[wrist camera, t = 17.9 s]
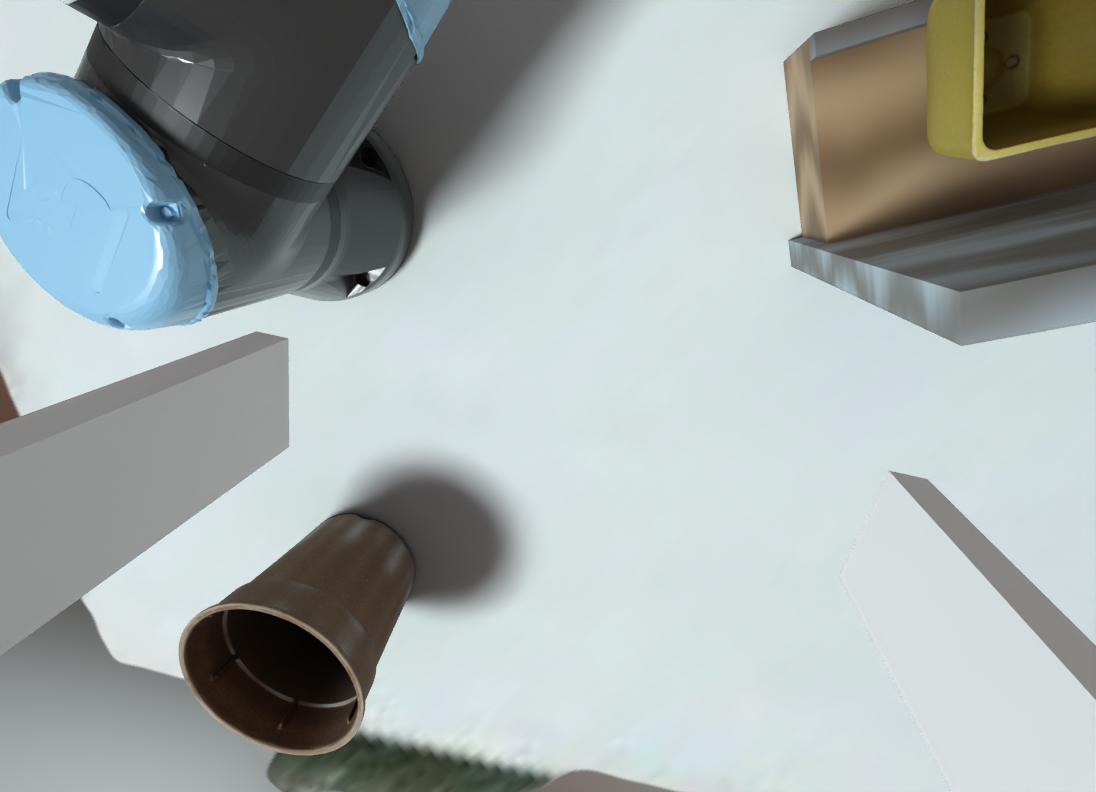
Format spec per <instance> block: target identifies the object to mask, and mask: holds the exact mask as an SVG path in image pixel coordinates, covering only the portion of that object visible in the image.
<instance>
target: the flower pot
mask: <svg viewBox="0 0 1096 792" xmlns="http://www.w3.org/2000/svg"><path fill="white" fill-rule="evenodd" d="M926 55H927V138H928V142H929V144H930V146H931V148H932V149H933V150H934V151H935V152H936V153H938V154H940V155H944V156H948V157H954V158H961V159H968V160H975V161H989V160H994V159H998V158H1003V157H1006V156H1010V155H1015V154H1019V153H1023V152H1028V151H1032V150H1036V149H1041V148H1045V147H1049V146H1054V145H1058V144H1063V143H1067V142H1072V141H1076V140H1081V139H1086V138H1090V137H1094V136H1096V0H933V2H932V4H931V7H930V10H929V13H928V18H927V26H926ZM1010 57H1015V58H1016V59H1017V63H1016V65H1015V66H1014V67H1012V68H1008V67H1007V66H1006V62H1007V60H1008V58H1010ZM983 100H984V101H983Z"/></svg>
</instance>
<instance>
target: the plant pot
mask: <svg viewBox="0 0 1096 792" xmlns="http://www.w3.org/2000/svg"><path fill="white" fill-rule="evenodd" d="M414 573H415V565H414V561H413V558H412V555H411V553H410V551H409V549H408V548H407V546H406V545H405V543H404V542H403V541H402V540H401V538H400V537H399V536H398V535H397V534H396V533H395V532H393V531H392V530H391V529H390V528H388V527H387V526H386V525H384V524H382V523H381V522H379V521H377V520H375V519H374V520H367V519H363V518H361V517H359V516H358V515H356V514H344V515H338V516H335V517H332V518H329V519H328V520H326V521H324V522H323V523H321V524H320V525H319V526H318V527H316V528H315V529H314V530H313V531H312V532H311V533H309V534H308V535H307V536H306V537H305V538H304V539H302V540H301V541H300V542H299V543H298V544H296V545H295V546H294V547H293V548H292V549H290V550H289V551H288V552H287V553H286V554H284V555H283V556H282V557H281V558H280V559H278V560H277V561H276V562H275V563H273V564H272V565H271V566H270V567H268V568H267V569H266V570H265V571H264V572H262V573H261V574H260V575H259V576H257V577H256V578H255V579H254V580H252V581H251V582H250V583H247V584H245V585H243V586H241V587H239V588H238V589H236V590H235V591H234V592H232V593H231V594H230V595H229V596H227V597H226V598H225V599H224V600H222V601H221V602H220V603H219V604H216V605H213V606H211V607H209V608H207V609H205V610H203V611H202V612H200V613H199V614H198V615H196V616H195V617H194V618H193V619H192V620H191V621H190V622H189V623H188V624H187V626H186V627H185V629H184V631H183V633H182V635H181V638H180V642H179V662H180V666H181V670H182V673H183V676H184V678H185V681H186V683H187V685H188V686H189V688H190V690H191V691H192V693H193V695H194V696H195V698H196V699H197V700H198V701H199V703H200V704H201V705H202V706H203V707H204V708H205V709H206V710H207V712H208V713H210V715H212V716H213V717H214V718H215V719H216V720H217V721H219V722H220V723H221V724H222V725H224V726H225V727H226V728H228V729H229V730H231V731H232V732H234V733H236V734H238V735H239V736H241V737H242V738H244V739H246V740H248V741H250V742H252V743H254V744H256V745H258V746H261V747H264V748H266V749H270V750H273V751H276V752H281V753H287V754H293V755H317V754H323V753H327V752H330V751H333V750H336V749H338V748H339V747H341V746H343V745H345V744H346V743H347V742H348V741H350V740H351V739H352V738H353V736H354V735H355V734H356V732H357V731H358V729H359V727H360V725H361V722H362V719H363V716H364V711H365V700H366V698H367V696H368V693H369V691H370V689H371V687H372V684H373V681H374V678H375V674H376V666H377V664H378V662H379V660H380V657H381V655H382V653H383V651H384V648H385V646H386V644H387V642H388V639H389V637H390V635H391V633H392V631H393V628H394V626H395V624H396V622H397V620H398V617H399V615H400V613H401V611H402V609H403V606H404V604H405V602H406V600H407V598H408V595H409V593H410V591H411V589H412V587H413V581H414Z"/></svg>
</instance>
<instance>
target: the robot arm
mask: <svg viewBox="0 0 1096 792" xmlns="http://www.w3.org/2000/svg"><path fill="white" fill-rule="evenodd" d="M60 1H62V2H63V3H65V4H67V5H68V6H70V7H72V8H74V9H76V10H77V11H79V12H81V13H83V14H85V15H87V16H88V17H90V18H92V19H94V20H96V21H97V25H96V27H95V29H94V32H93V34H92V37H91V39H90V42H89V44H88V46H87V49H86V51H85V53H84V55H83V58H82V61H81V63H80V65H79V68H78V70H77V73H76V74H75V76H74V78H71V77H69V76H66V75H61V74H56V73H52V72H40V73H36V74H33V75H31V76H25V77H24V78H23V79H10V80H6V81H4V82H2V83H1V84H0V236H1V238H2V240H3V241H4V243H5V244H6V246H7V247H8V249H9V250H10V252H11V253H12V254H13V256H14V257H15V258H16V260H17V261H18V262H19V264H20V265H21V266H22V267H23V268H24V269H25V271H26V272H27V273H28V274H29V275H30V276H31V277H32V278H33V279H34V280H35V281H36V282H37V283H38V284H39V285H40V286H41V287H42V288H43V289H44V290H45V291H46V292H48V293H49V294H50V295H51V296H52V297H54V298H55V299H56V300H58V301H59V302H60V303H62V304H63V305H65V306H66V307H68V308H69V309H71V310H72V311H74V312H76V313H78V314H80V315H81V316H83V317H85V318H87V319H90V320H92V321H94V322H97V323H99V324H102V325H106V326H109V327H113V328H117V329H128V330H150V329H156V328H161V327H167V326H174V325H179V326H185V325H191V324H194V323H196V322H199V321H201V319H202V318H206V317H208V316H211V315H215V314H218V313H222V312H225V311H229V310H232V309H236V308H239V307H243V306H246V305H250V304H253V303H257V302H260V301H264V300H267V299H271V298H274V297H278V296H281V295H285V294H292V295H296V296H301V297H305V298H309V299H314V300H320V301H340V300H346V299H350V298H353V297H357V296H359V295H362V294H365V293H368V292H370V291H372V290H374V289H376V288H378V287H379V286H381V285H382V284H383V283H385V282H386V281H387V280H388V279H389V278H390V277H391V276H392V275H393V274H394V273H395V271H396V270H397V269H398V267H399V266H400V264H401V263H402V261H403V259H404V257H405V255H406V253H407V250H408V247H409V244H410V240H411V235H412V228H413V205H412V198H411V193H410V189H409V186H408V182H407V179H406V177H405V174H404V172H403V170H402V167H401V166H400V164H399V162H398V160H397V158H396V157H395V155H394V154H393V152H392V151H391V149H390V148H389V147H388V145H387V144H386V143H385V142H384V141H383V140H382V138H381V137H380V136H379V135H378V134H377V133H376V132H374V131H373V130H372V127H373V126H374V124H375V123H376V121H377V120H378V118H379V116H380V115H381V113H382V112H383V110H384V109H385V107H386V106H387V104H388V103H389V101H390V100H391V98H392V97H393V95H394V94H395V92H396V91H397V89H398V88H399V86H400V84H401V83H402V81H403V80H404V78H405V77H406V75H407V74H408V72H409V71H410V69H411V68H412V66H413V65H414V63H415V64H417V65H418V64H419V63H420V62H421V60H422V59H423V56H424V47H425V45H426V44H427V42H428V40H429V39H430V37H431V35H432V34H433V32H434V30H435V28H436V27H437V25H438V23H439V22H440V20H441V18H442V17H443V15H444V13H445V12H446V10H447V8H448V6H449V4H450V2H451V0H60ZM288 447H289V374H288V338H284V337H279V336H275V335H270V334H266V333H261V332H254V333H251V334H248V335H245V336H243V337H240V338H237V339H234V340H232V341H229V342H226V343H223V344H220V345H218V346H215V347H212V348H209V349H207V350H204V351H201V352H198V353H196V354H193V355H190V356H187V357H184V358H182V359H179V360H176V361H173V362H171V363H168V364H165V365H162V366H159V367H157V368H154V369H151V370H148V371H146V372H143V373H140V374H137V375H135V376H132V377H129V378H126V379H123V380H121V381H118V382H115V383H112V384H110V385H107V386H104V387H101V388H98V389H96V390H93V391H90V392H87V393H85V394H82V395H79V396H76V397H74V398H71V399H68V400H65V401H62V402H60V403H57V404H54V405H51V406H49V407H46V408H43V409H40V410H37V411H35V412H32V413H29V414H26V415H24V416H21V417H18V418H15V419H13V420H10V421H7V422H4V423H2V424H0V655H2V654H3V653H5V652H6V651H7V650H9V649H10V648H11V647H13V646H14V645H16V644H17V643H18V642H20V641H21V640H23V639H24V638H25V637H27V636H28V635H30V634H31V633H32V632H34V631H35V630H36V629H37V628H39V627H40V626H42V625H43V624H45V623H46V622H48V621H49V620H50V619H52V618H53V617H54V616H56V615H57V614H58V613H60V612H61V611H63V610H64V609H65V608H67V607H68V606H70V605H71V604H72V603H74V602H75V601H77V600H78V599H79V598H81V597H82V596H83V595H85V594H86V593H88V592H89V591H90V590H92V589H93V588H94V587H96V586H97V585H99V584H100V583H101V582H103V581H104V580H106V579H107V578H108V577H110V576H111V575H112V574H114V573H115V572H117V571H118V570H119V569H121V568H122V567H123V566H125V565H126V564H128V563H129V562H130V561H132V560H133V559H135V558H136V557H137V556H139V555H140V554H141V553H143V552H144V551H146V550H147V549H148V548H150V547H151V546H152V545H154V544H155V543H157V542H158V541H159V540H161V539H162V538H164V537H165V536H166V535H168V534H169V533H170V532H172V531H173V530H175V529H176V528H177V527H179V526H180V525H182V524H183V523H184V522H186V521H187V520H188V519H190V518H191V517H193V516H194V515H195V514H197V513H198V512H199V511H201V510H202V509H204V508H205V507H206V506H208V505H209V504H211V503H212V502H213V501H215V500H216V499H217V498H219V497H220V496H222V495H223V494H224V493H226V492H227V491H228V490H230V489H231V488H233V487H234V486H235V485H237V484H238V483H240V482H241V481H242V480H244V479H245V478H246V477H248V476H249V475H251V474H252V473H253V472H255V471H256V470H257V469H259V468H260V467H262V466H263V465H264V464H266V463H267V462H269V461H270V460H271V459H273V458H274V457H275V456H277V455H278V454H280V453H281V452H282V451H284V450H285V449H287V448H288ZM839 579H840V580H841V582H842V584H843V586H844V588H845V590H846V592H847V594H848V596H849V598H850V600H851V601H852V603H853V605H854V607H855V609H856V611H857V613H858V615H859V617H860V619H861V621H862V623H863V624H864V626H865V628H866V630H867V632H868V634H869V636H870V638H871V640H872V642H873V644H874V645H875V647H876V649H877V651H878V653H879V655H880V657H881V659H882V661H883V663H884V665H885V667H886V668H887V670H888V672H889V674H890V676H891V678H892V680H893V682H894V684H895V686H896V688H897V689H898V691H899V693H900V695H901V697H902V699H903V701H904V703H905V705H906V707H907V709H908V711H909V712H910V714H911V716H912V718H913V720H914V722H915V724H916V726H917V728H918V730H919V732H920V734H921V735H922V737H923V739H924V741H925V743H926V745H927V747H928V749H929V751H930V753H931V755H932V756H933V758H934V760H935V762H936V764H937V766H938V768H939V770H940V772H941V774H942V776H943V778H944V779H945V781H946V783H947V785H948V787H949V789H950V791H951V792H1096V646H1095V645H1094V644H1093V643H1092V642H1091V641H1090V640H1089V639H1088V638H1087V637H1086V636H1085V635H1084V634H1083V633H1082V632H1081V631H1080V630H1079V629H1078V628H1077V627H1076V626H1075V625H1074V624H1073V623H1072V622H1071V621H1070V620H1069V619H1068V618H1067V617H1066V616H1065V615H1064V614H1063V613H1062V612H1061V611H1060V610H1059V609H1058V608H1057V607H1056V606H1055V605H1054V604H1053V603H1052V602H1051V601H1050V600H1049V599H1048V598H1047V597H1046V596H1045V595H1044V594H1043V593H1042V592H1041V591H1040V590H1039V589H1038V588H1037V587H1036V586H1035V585H1034V584H1033V583H1032V582H1031V581H1030V580H1029V579H1028V578H1027V577H1026V576H1025V575H1024V574H1023V573H1022V572H1021V571H1020V570H1019V569H1018V568H1017V567H1016V566H1015V565H1014V564H1013V563H1012V562H1010V561H1009V560H1008V559H1007V558H1006V557H1005V556H1004V555H1003V554H1002V553H1001V552H1000V551H999V550H998V549H997V548H996V547H995V546H994V545H993V544H992V543H991V542H990V541H989V540H988V539H987V538H986V537H985V536H984V535H983V534H982V533H981V532H980V531H979V530H978V529H977V528H976V527H975V526H974V525H973V524H972V523H971V522H970V521H969V520H968V519H967V518H966V517H965V516H964V515H963V514H962V513H961V512H960V511H959V510H958V509H957V508H956V507H955V506H954V505H953V504H952V503H951V502H950V501H949V500H948V499H947V498H946V497H945V496H944V495H943V494H942V493H941V492H940V491H939V490H938V489H937V488H936V487H935V486H934V485H933V484H932V483H931V482H930V481H929V480H928V479H924V478H919V477H915V476H910V475H906V474H901V473H897V472H892V471H888V473H887V475H886V478H885V480H884V482H883V484H882V486H881V488H880V490H879V493H878V495H877V497H876V499H875V501H874V503H873V505H872V508H871V510H870V512H869V514H868V516H867V518H866V521H865V523H864V525H863V527H862V529H861V531H860V533H859V536H858V538H857V540H856V542H855V544H854V546H853V548H852V551H851V553H850V555H849V557H848V559H847V561H846V564H845V566H844V568H843V570H842V572H841V574H840V576H839Z"/></svg>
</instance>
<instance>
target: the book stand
mask: <svg viewBox="0 0 1096 792" xmlns="http://www.w3.org/2000/svg"><path fill="white" fill-rule="evenodd" d="M932 2H933V0H917V1H914V2H911V3H908V4H905V5H902V6H898V7H895V8H892V9H889V10H886V11H883V12H879V13H876V14H873V15H870V16H867V17H864V18H860V19H857V20H854V21H851V22H848V23H845V24H841V25H838V26H835V27H832V28H829V29H826V30H822V31H819V32H816V33H814V34H813V35H812V36H811V37H810V38H808V39H807V40H806V41H805V42H804V43H803V44H802V45H801V46H800V47H799V48H798V49H797V50H796V51H795V52H794V53H792V54H791V55H790V56H789V57H788V58H787V59H786V60H785V61H784V62H783V63H784V72H785V81H786V90H787V100H788V109H789V118H790V127H791V136H792V146H793V155H794V164H795V173H796V183H797V192H798V201H799V210H800V219H801V229H802V237H800V238H796V239H792V240H788V241H789V249H790V258H791V266H792V267H794V268H796V269H798V270H800V271H802V272H805V273H807V274H809V275H811V276H813V277H815V278H817V279H820V280H822V281H824V282H826V283H828V284H830V285H832V286H835V287H837V288H839V289H841V290H843V291H845V292H847V293H850V294H852V295H854V296H856V297H858V298H860V299H862V300H864V301H867V302H869V303H871V304H873V305H875V306H877V307H879V308H882V309H884V310H886V311H888V312H890V313H892V314H894V315H897V316H899V317H901V318H903V319H905V320H907V321H909V322H911V323H914V324H916V325H918V326H920V327H922V328H924V329H926V330H929V331H931V332H933V333H935V334H937V335H939V336H941V337H944V338H946V339H948V340H950V341H952V342H954V343H956V344H958V345H961V346H964V345H970V344H975V343H981V342H986V341H992V340H997V339H1003V338H1008V337H1014V336H1019V335H1025V334H1030V333H1036V332H1042V331H1047V330H1053V329H1058V328H1064V327H1069V326H1075V325H1080V324H1086V323H1091V322H1096V136H1094V137H1090V138H1086V139H1081V140H1076V141H1072V142H1067V143H1063V144H1058V145H1054V146H1049V147H1045V148H1041V149H1036V150H1032V151H1028V152H1023V153H1019V154H1015V155H1010V156H1006V157H1003V158H998V159H994V160H989V161H975V160H968V159H961V158H954V157H948V156H944V155H940V154H938V153H936V152H935V151H934V150H933V149H932V148H931V146H930V144H929V142H928V138H927V55H926V26H927V18H928V13H929V10H930V7H931V4H932ZM1016 63H1017V59H1016V58H1015V57H1010V58H1008V60H1007V62H1006V66H1007V67H1008V68H1012V67H1014V66H1015V65H1016ZM983 101H984V100H983Z"/></svg>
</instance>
